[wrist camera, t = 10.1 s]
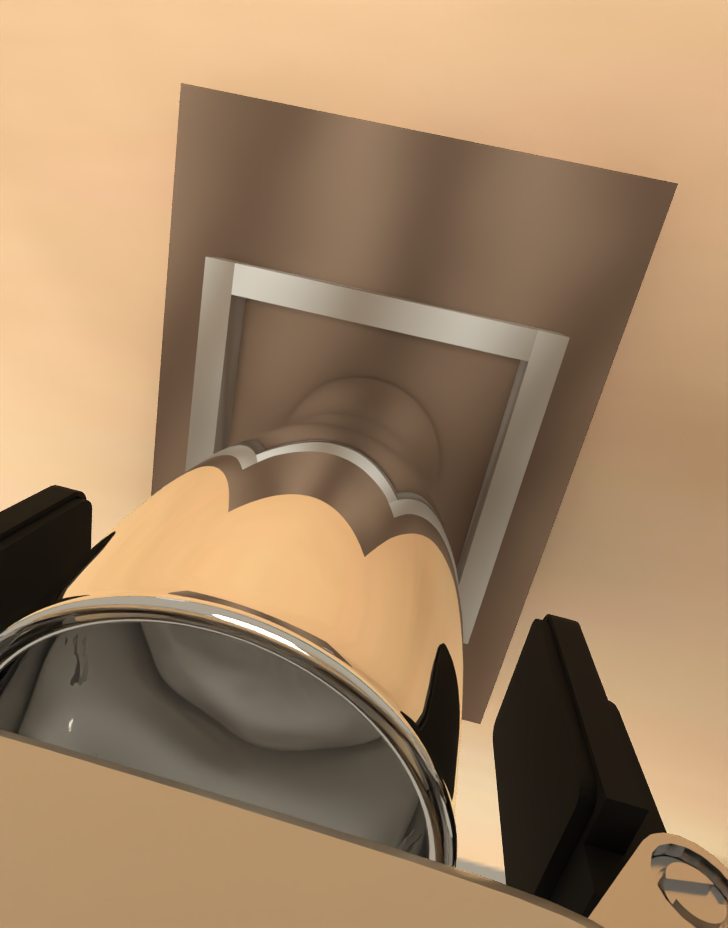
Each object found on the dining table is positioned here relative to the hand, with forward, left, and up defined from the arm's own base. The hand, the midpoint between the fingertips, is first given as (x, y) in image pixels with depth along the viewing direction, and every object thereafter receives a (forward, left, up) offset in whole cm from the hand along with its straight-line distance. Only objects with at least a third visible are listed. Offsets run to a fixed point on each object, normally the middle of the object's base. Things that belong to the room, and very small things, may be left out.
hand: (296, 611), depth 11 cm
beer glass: (0, 0, -11) cm, 11 cm away
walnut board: (0, 0, -12) cm, 12 cm away
